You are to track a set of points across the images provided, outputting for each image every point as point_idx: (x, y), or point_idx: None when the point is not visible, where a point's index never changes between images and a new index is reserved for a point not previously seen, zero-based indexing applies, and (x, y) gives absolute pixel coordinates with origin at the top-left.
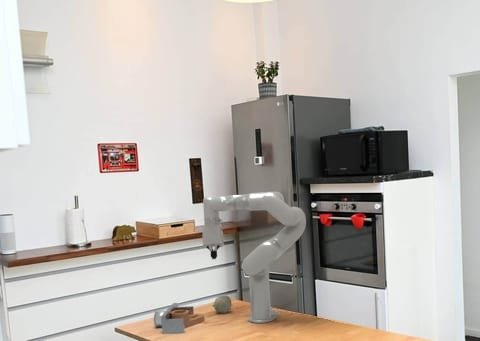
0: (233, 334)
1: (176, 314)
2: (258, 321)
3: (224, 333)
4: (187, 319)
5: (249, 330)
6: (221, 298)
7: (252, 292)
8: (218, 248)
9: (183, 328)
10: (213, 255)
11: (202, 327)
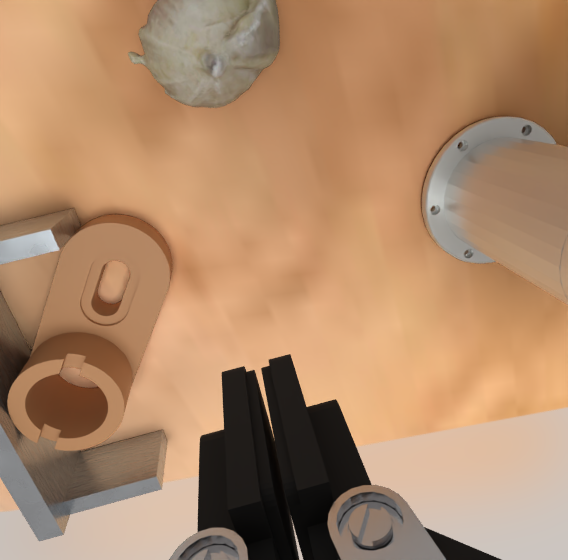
0: (396, 418)
1: (77, 449)
2: (485, 262)
3: (354, 414)
4: (130, 387)
5: (452, 362)
6: (222, 81)
7: (560, 300)
8: (465, 550)
9: (164, 455)
10: (286, 501)
11: (217, 358)
